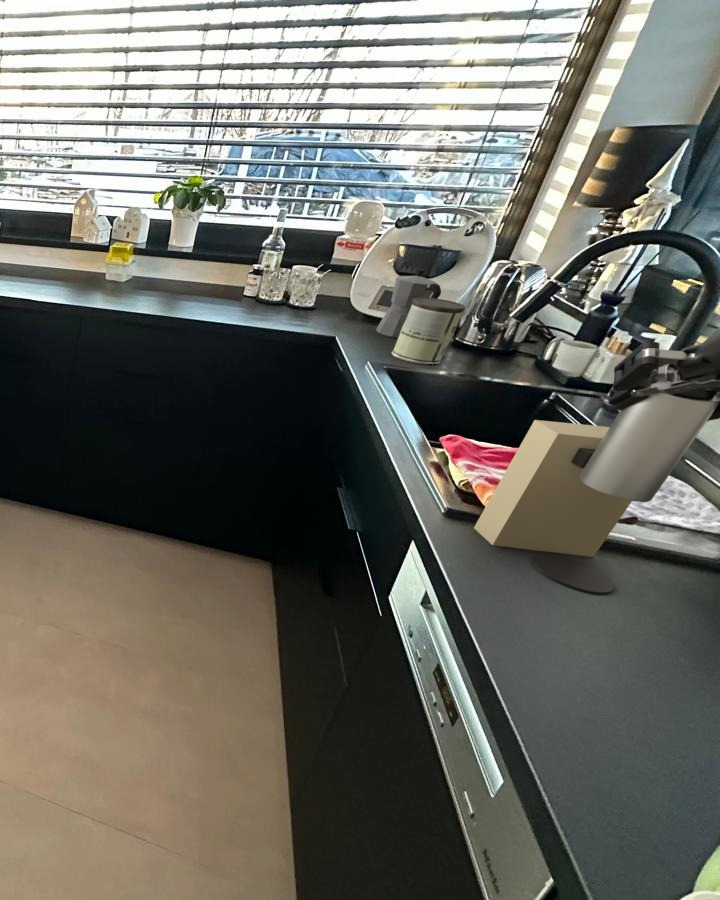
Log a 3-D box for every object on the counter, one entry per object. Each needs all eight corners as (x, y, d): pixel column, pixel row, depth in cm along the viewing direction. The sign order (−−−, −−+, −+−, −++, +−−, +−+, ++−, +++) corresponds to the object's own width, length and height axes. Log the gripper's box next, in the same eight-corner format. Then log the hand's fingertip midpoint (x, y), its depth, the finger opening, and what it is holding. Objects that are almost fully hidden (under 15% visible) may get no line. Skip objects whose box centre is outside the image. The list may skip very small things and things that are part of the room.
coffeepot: (363, 326, 181) (387, 263, 173) (394, 327, 181) (420, 264, 173) (400, 343, 167) (429, 276, 159) (434, 344, 168) (464, 277, 159)
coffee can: (387, 348, 163) (409, 294, 156) (434, 355, 159) (459, 301, 152) (394, 359, 155) (418, 303, 148) (444, 367, 151) (471, 310, 144)
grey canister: (621, 478, 73) (690, 374, 67) (667, 505, 68) (747, 395, 62) (564, 472, 74) (628, 368, 68) (606, 498, 68) (679, 388, 62)
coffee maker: (564, 548, 85) (642, 430, 76) (646, 613, 73) (749, 483, 65) (468, 536, 86) (534, 419, 78) (535, 599, 75) (620, 470, 66)
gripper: (936, 304, 51) (745, 391, 66) (698, 280, 56) (572, 365, 71) (941, 385, 49) (744, 455, 64) (696, 352, 54) (567, 424, 69)
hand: (654, 407), depth 68 cm, fingers closed on grey canister, 6 cm apart
